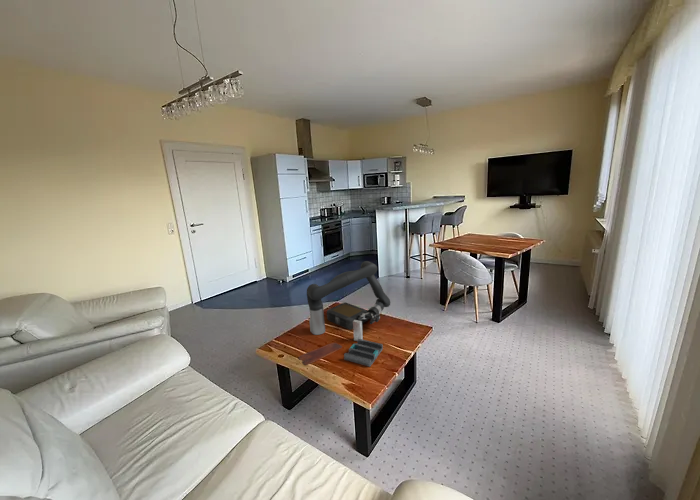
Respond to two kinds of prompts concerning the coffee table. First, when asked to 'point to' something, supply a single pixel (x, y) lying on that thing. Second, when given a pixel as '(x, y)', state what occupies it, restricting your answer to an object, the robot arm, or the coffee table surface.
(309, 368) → the coffee table surface
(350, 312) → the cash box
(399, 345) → the coffee table surface
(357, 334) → the panel
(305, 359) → the wooden tablet
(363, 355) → the rack
